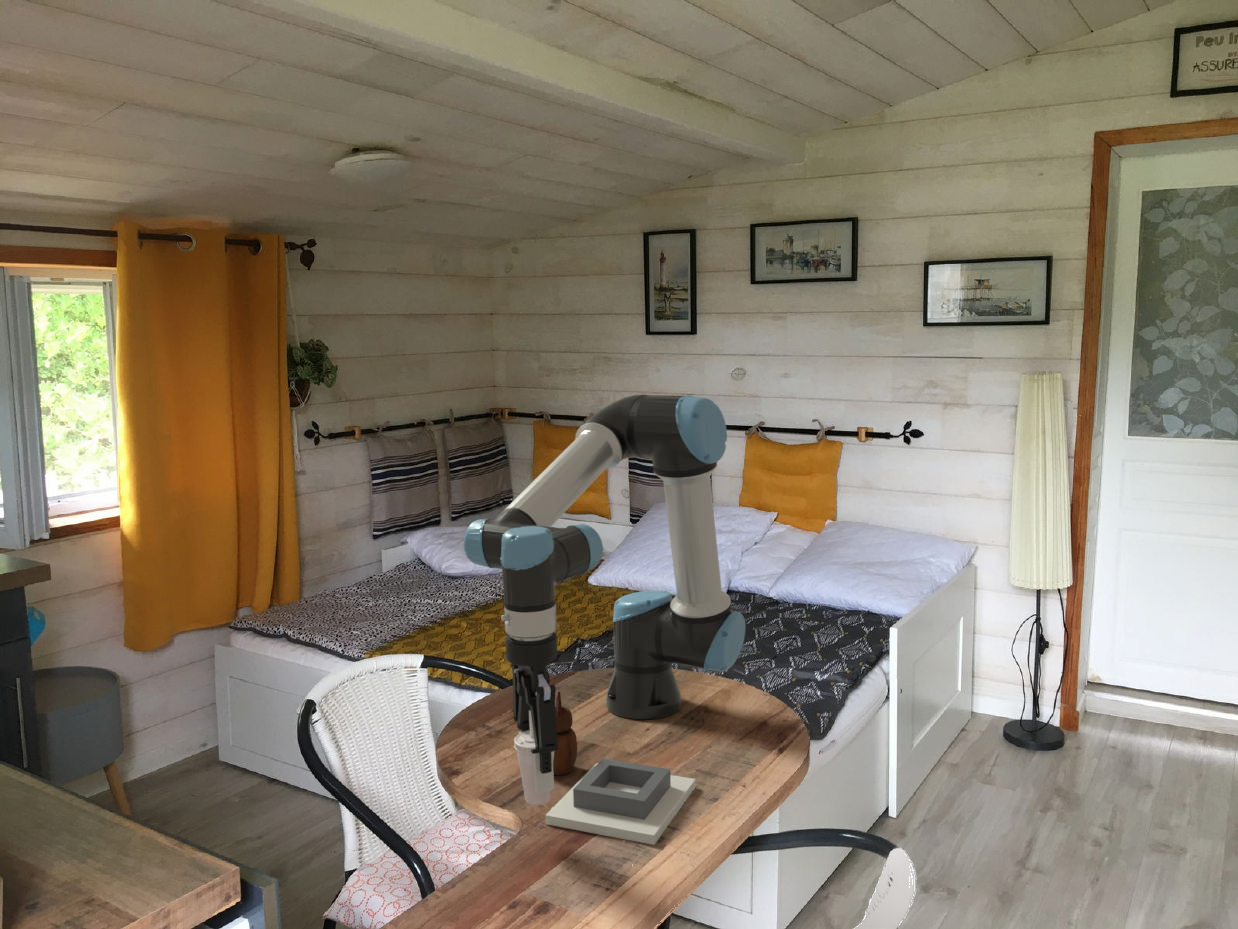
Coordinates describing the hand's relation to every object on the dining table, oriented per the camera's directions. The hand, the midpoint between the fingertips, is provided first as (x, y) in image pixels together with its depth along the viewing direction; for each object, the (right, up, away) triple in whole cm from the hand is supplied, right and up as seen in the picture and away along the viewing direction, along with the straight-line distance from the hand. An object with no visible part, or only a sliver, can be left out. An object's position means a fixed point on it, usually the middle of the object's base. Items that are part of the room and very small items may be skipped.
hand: (537, 780), depth 153 cm
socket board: (+13, -8, +12) cm, 19 cm away
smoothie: (0, -3, 0) cm, 3 cm away
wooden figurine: (+2, -6, +25) cm, 25 cm away
